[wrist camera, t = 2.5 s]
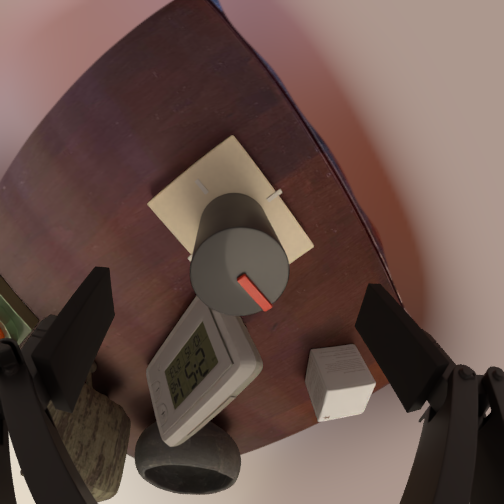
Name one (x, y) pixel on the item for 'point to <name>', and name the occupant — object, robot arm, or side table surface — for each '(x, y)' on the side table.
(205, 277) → the dial
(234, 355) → the digital clock
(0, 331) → the push button
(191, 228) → the dial panel
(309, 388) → the product box
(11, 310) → the button block
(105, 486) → the tabletop clock
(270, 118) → the side table surface
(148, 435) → the bowl
